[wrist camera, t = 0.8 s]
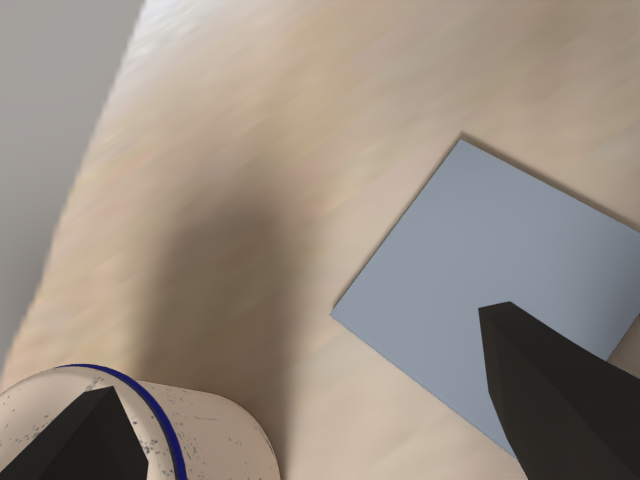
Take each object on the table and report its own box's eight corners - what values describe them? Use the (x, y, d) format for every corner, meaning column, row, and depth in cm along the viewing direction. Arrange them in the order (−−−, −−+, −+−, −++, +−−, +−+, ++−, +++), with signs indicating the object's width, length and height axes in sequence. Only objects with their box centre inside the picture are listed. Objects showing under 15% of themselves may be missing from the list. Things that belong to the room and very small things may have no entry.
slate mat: (678, 257, 23) (680, 254, 22) (530, 469, 22) (530, 469, 22) (461, 143, 27) (460, 138, 27) (331, 316, 26) (329, 314, 26)
